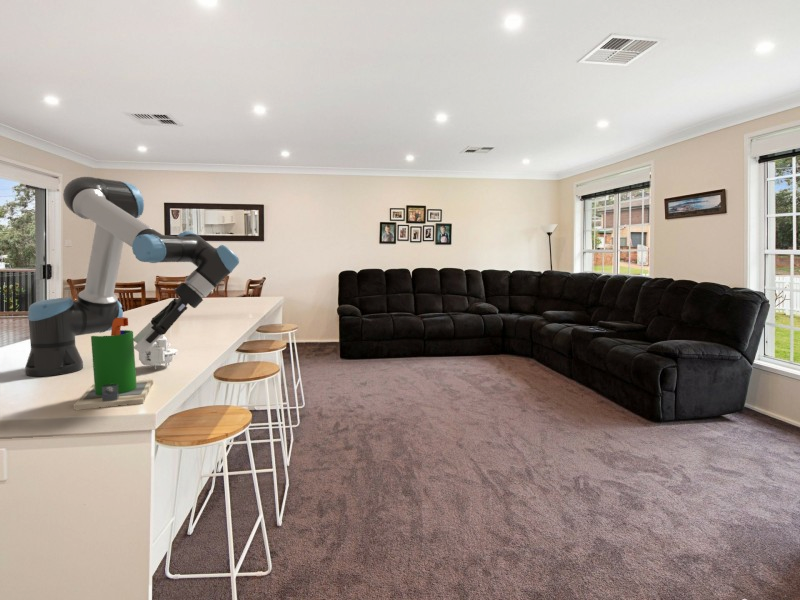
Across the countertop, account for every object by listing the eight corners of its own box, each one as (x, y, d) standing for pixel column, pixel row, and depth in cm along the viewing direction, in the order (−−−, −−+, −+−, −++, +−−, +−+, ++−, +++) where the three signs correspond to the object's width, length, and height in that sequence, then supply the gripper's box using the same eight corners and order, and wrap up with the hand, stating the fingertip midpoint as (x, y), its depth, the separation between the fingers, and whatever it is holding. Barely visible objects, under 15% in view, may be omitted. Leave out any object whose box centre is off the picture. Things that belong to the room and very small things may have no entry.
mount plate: (94, 387, 133) (94, 382, 132) (153, 382, 138) (153, 377, 138) (73, 410, 113) (73, 404, 113) (143, 403, 119) (142, 398, 119)
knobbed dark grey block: (105, 397, 119) (104, 383, 119) (119, 396, 120) (118, 382, 120) (102, 401, 116) (101, 386, 116) (117, 400, 117) (116, 385, 117)
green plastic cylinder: (110, 384, 130) (106, 314, 128) (143, 384, 131) (139, 314, 129) (89, 395, 120) (85, 320, 118) (125, 394, 121) (122, 319, 119)
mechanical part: (184, 363, 162) (183, 330, 161) (164, 372, 150) (162, 336, 149) (154, 362, 163) (153, 329, 162) (131, 371, 151) (130, 335, 150)
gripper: (211, 302, 124) (150, 363, 118) (198, 295, 145) (146, 347, 139) (188, 283, 121) (125, 345, 114) (178, 279, 142) (125, 331, 136)
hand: (136, 346), depth 127 cm, fingers open, 13 cm apart
